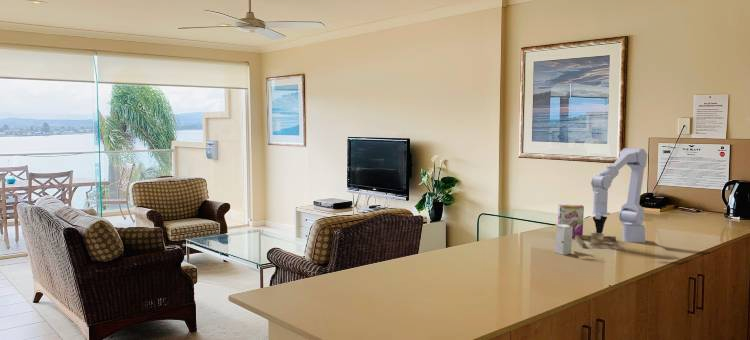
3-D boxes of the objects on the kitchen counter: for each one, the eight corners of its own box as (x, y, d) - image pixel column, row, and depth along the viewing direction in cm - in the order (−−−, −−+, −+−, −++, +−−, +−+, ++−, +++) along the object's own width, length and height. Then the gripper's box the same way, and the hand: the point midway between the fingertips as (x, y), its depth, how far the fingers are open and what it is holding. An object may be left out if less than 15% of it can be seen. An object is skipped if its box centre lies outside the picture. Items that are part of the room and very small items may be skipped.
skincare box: (554, 252, 254) (555, 224, 253) (563, 251, 255) (564, 223, 254) (563, 255, 248) (564, 226, 247) (572, 254, 249) (573, 226, 248)
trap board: (615, 243, 274) (615, 236, 273) (626, 252, 254) (626, 245, 254) (574, 241, 277) (575, 235, 276) (582, 250, 257) (582, 243, 257)
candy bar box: (559, 239, 283) (560, 205, 281) (556, 237, 288) (557, 203, 286) (583, 239, 282) (584, 205, 280) (580, 237, 287) (581, 204, 285)
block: (603, 242, 269) (603, 231, 269) (602, 244, 264) (603, 233, 264) (591, 241, 271) (591, 230, 271) (590, 243, 266) (591, 232, 266)
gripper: (608, 205, 251) (607, 236, 252) (611, 201, 264) (610, 231, 265) (590, 204, 255) (589, 235, 256) (595, 200, 267) (594, 229, 269)
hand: (599, 232), depth 261 cm, fingers closed
